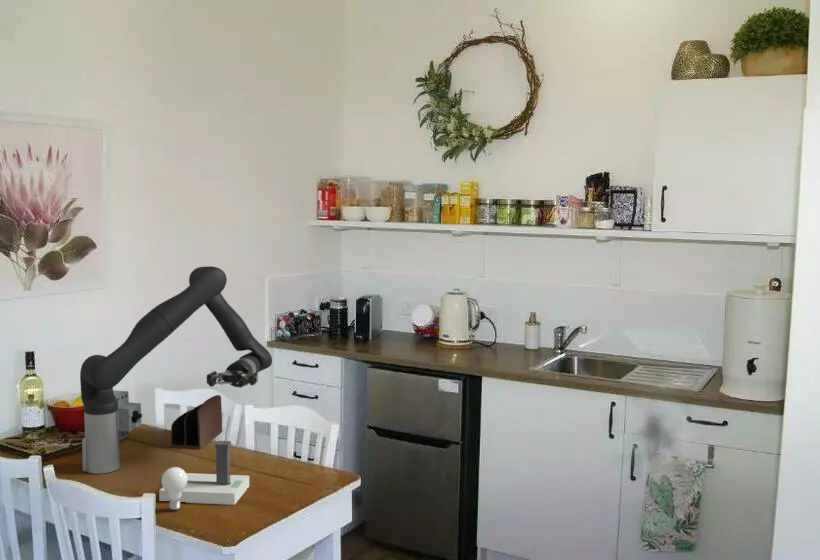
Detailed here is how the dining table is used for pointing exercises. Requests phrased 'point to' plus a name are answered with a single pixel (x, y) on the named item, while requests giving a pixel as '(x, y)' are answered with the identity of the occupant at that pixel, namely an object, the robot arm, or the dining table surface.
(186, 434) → the letter holder
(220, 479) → the handle
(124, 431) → the circuit breaker
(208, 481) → the breaker panel
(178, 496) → the lightbulb
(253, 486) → the dining table surface
